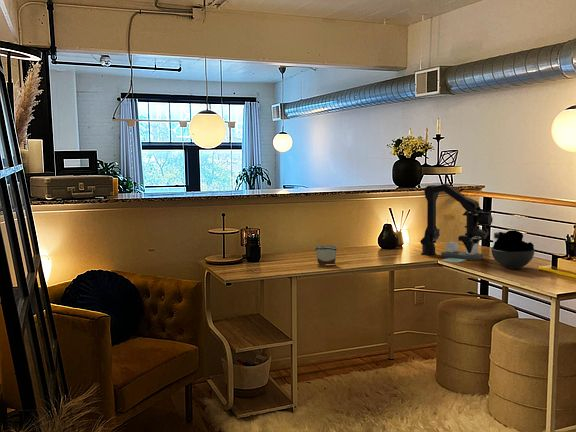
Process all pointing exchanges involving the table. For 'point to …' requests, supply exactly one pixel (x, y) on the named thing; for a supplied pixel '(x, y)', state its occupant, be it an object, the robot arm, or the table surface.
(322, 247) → the food container
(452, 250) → the block
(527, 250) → the bowl of black rocks
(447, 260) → the mat
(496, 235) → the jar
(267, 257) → the table surface
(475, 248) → the block
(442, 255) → the rail
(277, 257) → the table surface
